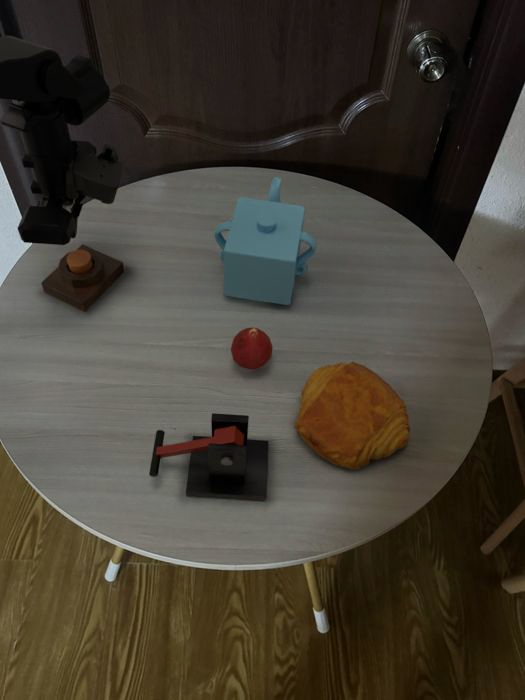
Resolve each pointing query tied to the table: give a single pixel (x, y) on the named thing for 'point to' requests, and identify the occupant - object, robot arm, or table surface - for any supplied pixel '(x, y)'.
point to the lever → (192, 445)
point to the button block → (83, 280)
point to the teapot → (264, 248)
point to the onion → (251, 348)
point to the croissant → (351, 415)
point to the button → (79, 261)
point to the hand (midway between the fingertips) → (72, 236)
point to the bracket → (229, 465)
